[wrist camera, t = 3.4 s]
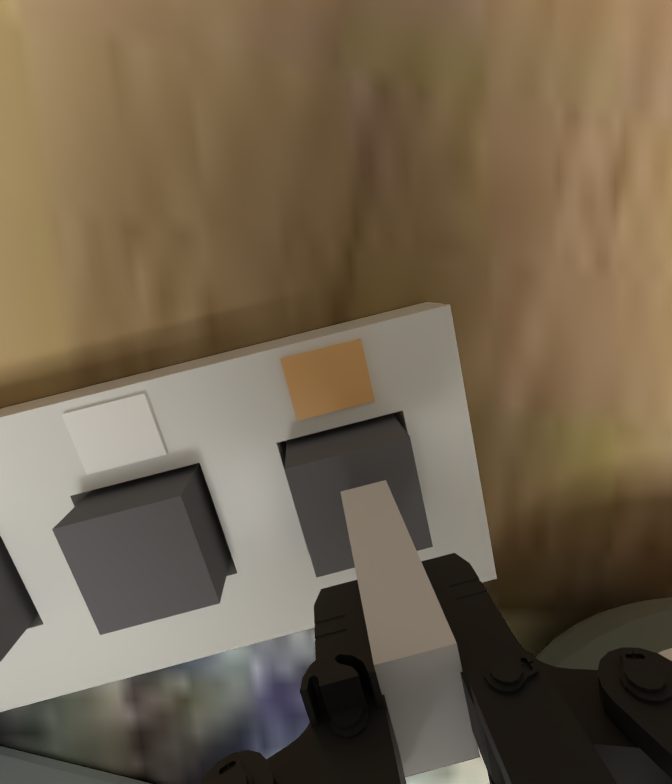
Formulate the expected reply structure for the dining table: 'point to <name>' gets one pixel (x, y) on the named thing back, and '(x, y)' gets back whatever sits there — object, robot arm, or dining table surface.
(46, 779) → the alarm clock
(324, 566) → the button
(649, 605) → the bowl
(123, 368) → the dining table surface
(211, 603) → the button middle
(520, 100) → the dining table surface
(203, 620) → the board
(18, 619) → the button
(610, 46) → the dining table surface
